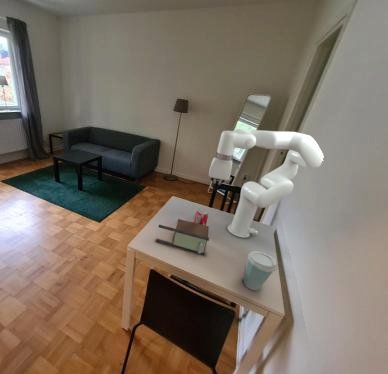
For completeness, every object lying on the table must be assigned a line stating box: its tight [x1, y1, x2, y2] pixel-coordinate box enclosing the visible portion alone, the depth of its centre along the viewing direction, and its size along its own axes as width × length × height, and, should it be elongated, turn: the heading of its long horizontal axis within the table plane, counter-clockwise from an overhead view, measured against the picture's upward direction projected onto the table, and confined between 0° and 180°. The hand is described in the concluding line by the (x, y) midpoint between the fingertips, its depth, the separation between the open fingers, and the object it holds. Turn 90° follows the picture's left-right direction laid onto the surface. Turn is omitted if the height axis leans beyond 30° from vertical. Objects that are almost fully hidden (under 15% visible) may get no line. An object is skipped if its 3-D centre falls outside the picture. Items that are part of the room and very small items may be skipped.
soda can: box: [193, 208, 209, 226], centre depth 124 cm, size 7×7×12 cm
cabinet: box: [155, 218, 210, 256], centre depth 112 cm, size 25×12×10 cm, turn 71°
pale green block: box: [172, 232, 207, 255], centre depth 105 cm, size 15×4×8 cm, turn 71°
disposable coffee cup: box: [242, 250, 278, 291], centre depth 89 cm, size 11×11×15 cm
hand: (214, 190), depth 112 cm, fingers closed
